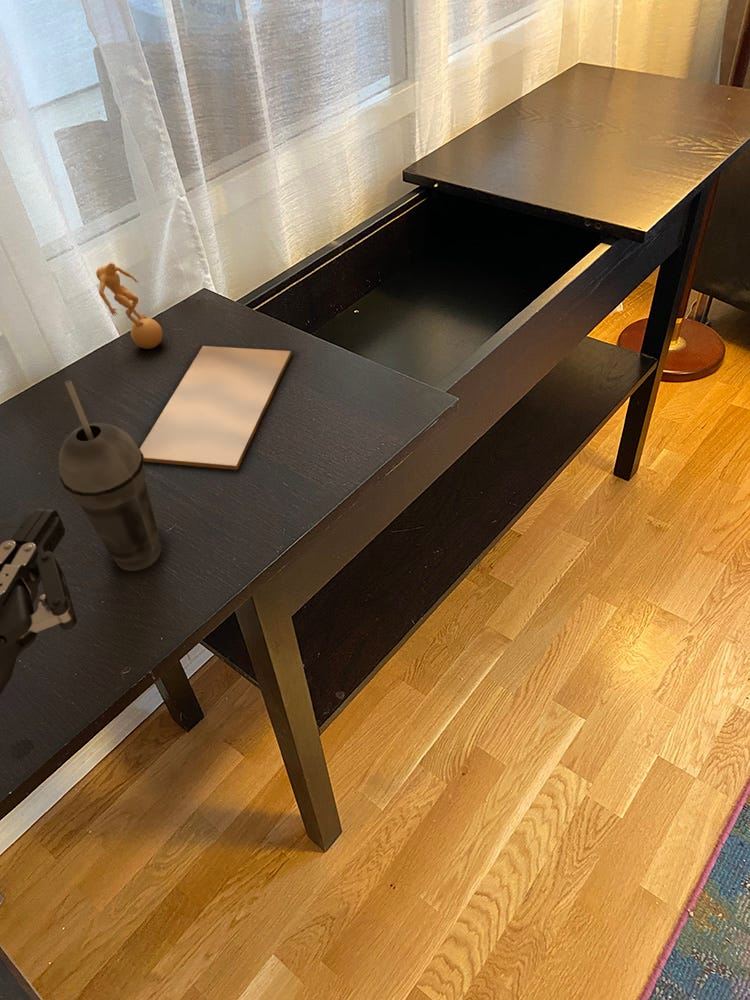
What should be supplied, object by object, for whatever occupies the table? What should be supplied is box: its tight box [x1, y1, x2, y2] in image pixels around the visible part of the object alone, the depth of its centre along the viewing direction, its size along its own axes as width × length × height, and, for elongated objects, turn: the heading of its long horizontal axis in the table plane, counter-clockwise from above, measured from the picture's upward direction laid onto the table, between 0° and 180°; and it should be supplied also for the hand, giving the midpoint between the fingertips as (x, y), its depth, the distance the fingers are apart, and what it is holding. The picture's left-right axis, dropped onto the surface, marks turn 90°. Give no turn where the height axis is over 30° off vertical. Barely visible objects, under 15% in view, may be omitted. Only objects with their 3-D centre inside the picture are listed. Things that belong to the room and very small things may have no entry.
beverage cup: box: [58, 380, 162, 572], centre depth 70 cm, size 7×7×20 cm
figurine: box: [95, 262, 163, 350], centre depth 100 cm, size 8×6×12 cm
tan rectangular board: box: [139, 345, 292, 471], centre depth 94 cm, size 22×12×1 cm, turn 169°
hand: (51, 516), depth 62 cm, fingers closed
